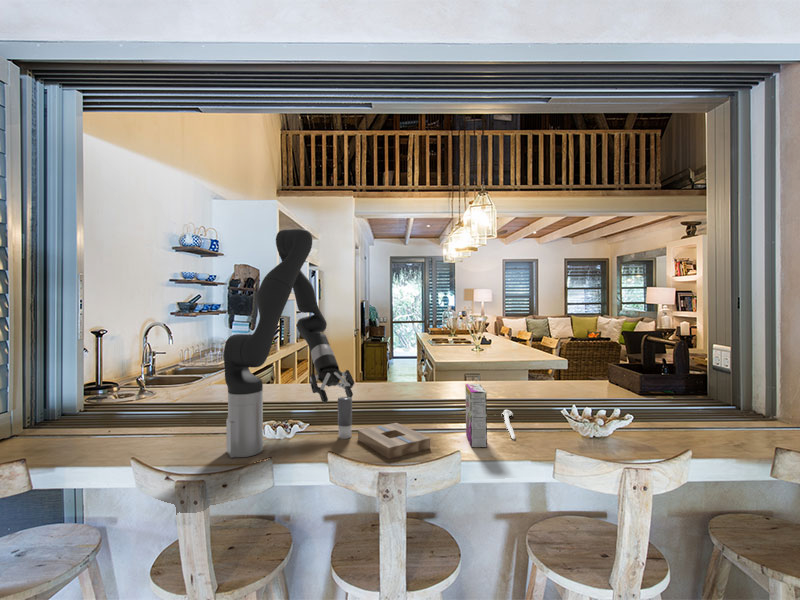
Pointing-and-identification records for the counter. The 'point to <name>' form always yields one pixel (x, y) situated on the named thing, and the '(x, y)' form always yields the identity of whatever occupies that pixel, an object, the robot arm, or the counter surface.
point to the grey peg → (345, 417)
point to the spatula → (508, 422)
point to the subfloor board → (393, 440)
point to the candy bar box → (476, 415)
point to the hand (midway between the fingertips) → (338, 400)
